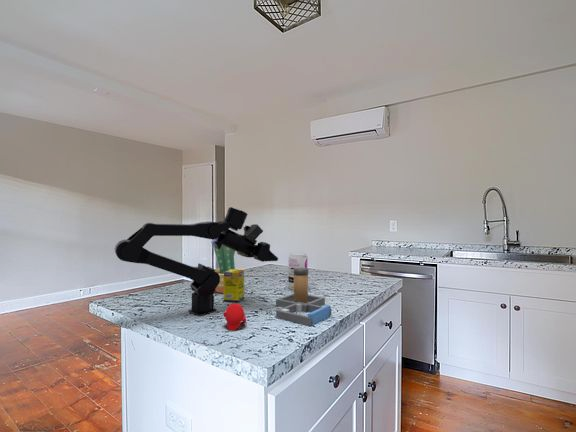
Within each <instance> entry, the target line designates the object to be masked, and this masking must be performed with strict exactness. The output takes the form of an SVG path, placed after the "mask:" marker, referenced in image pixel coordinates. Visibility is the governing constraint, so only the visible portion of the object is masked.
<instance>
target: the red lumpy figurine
mask: <svg viewBox="0 0 576 432" xmlns="http://www.w3.org/2000/svg"><path fill="white" fill-rule="evenodd" d="M223 317H224V318H225V321H226V328H227V329H228V331H231V332H232V331H233V332H235V331H236V330H237V329H238V328H239V327H240V325H241V326H245V325H246V323H247V318H246V313H245V309H244V308H243V306H242V305H240V304H239V303H236V302H233V303H231V304H230V305H228V306H227V308H226V310H225V311H224V313H223Z"/></svg>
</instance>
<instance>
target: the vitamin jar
mask: <svg viewBox="0 0 576 432" xmlns="http://www.w3.org/2000/svg"><path fill="white" fill-rule="evenodd" d="M293 294H294V301H293V302H302V303H309V302H308V295H309V268H308V267H307V268H295V269H294V290H293Z"/></svg>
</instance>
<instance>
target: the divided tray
mask: <svg viewBox="0 0 576 432" xmlns="http://www.w3.org/2000/svg"><path fill="white" fill-rule="evenodd" d="M323 304H324V305H323ZM275 306H276V307H281V308H280V309H279V308H278V309H276V311H275V318H276V319H280V320H284V321H289V322H292V323H295V324H300V325H304V326H307V327H312V326H313V325H315V324H317V323H319V322H321V321H324V320H325V319H328V318H329V317H331V316H332V308H331V305H330V304H326V298H325V297H322V296H318V295H312V294H308V303H302V302H294V293H291V294H288V295H285V296H282V297H279V298H276V299H275ZM296 312H298V313H296ZM301 312H303V313H307V312H308V314H307V315H303V314H299V313H301Z"/></svg>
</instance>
